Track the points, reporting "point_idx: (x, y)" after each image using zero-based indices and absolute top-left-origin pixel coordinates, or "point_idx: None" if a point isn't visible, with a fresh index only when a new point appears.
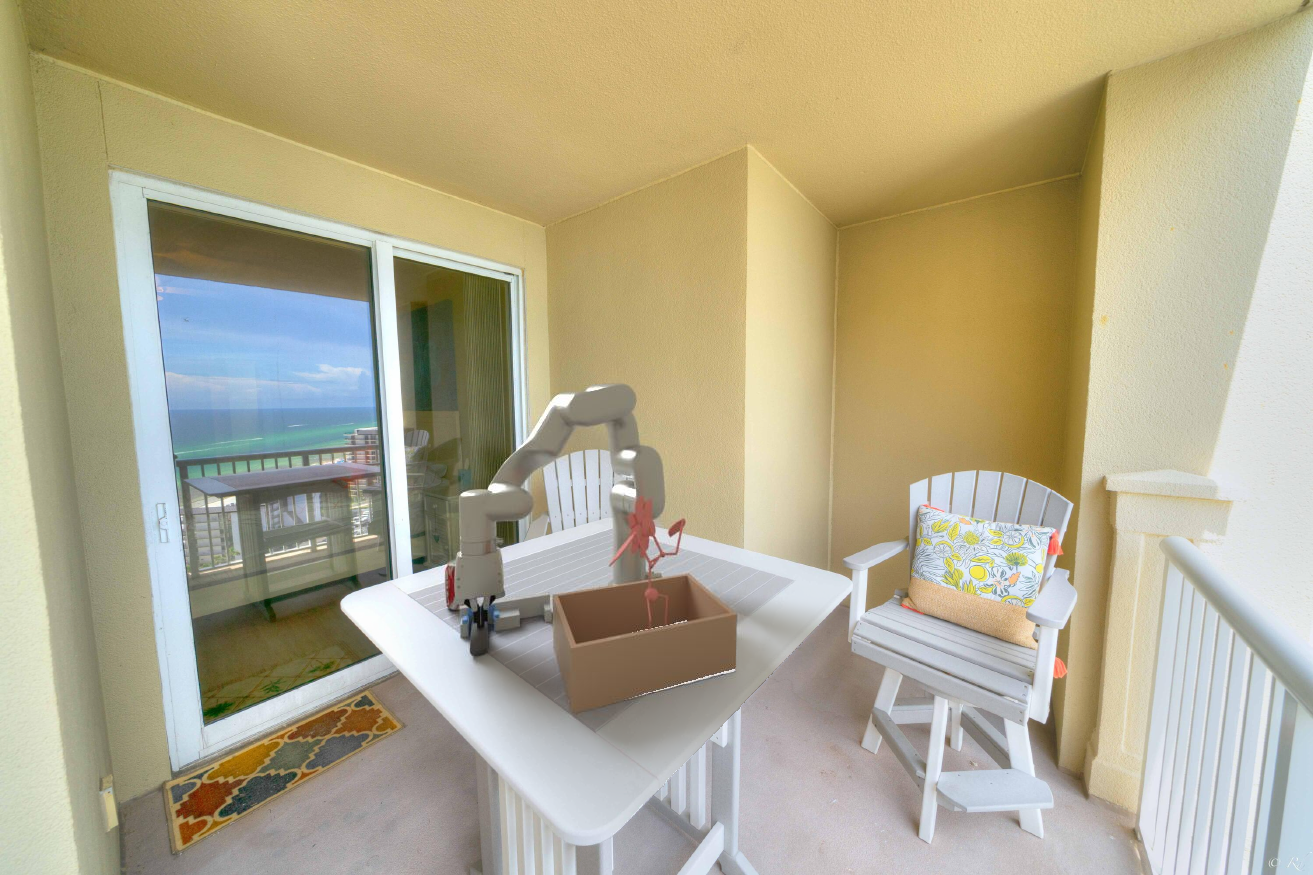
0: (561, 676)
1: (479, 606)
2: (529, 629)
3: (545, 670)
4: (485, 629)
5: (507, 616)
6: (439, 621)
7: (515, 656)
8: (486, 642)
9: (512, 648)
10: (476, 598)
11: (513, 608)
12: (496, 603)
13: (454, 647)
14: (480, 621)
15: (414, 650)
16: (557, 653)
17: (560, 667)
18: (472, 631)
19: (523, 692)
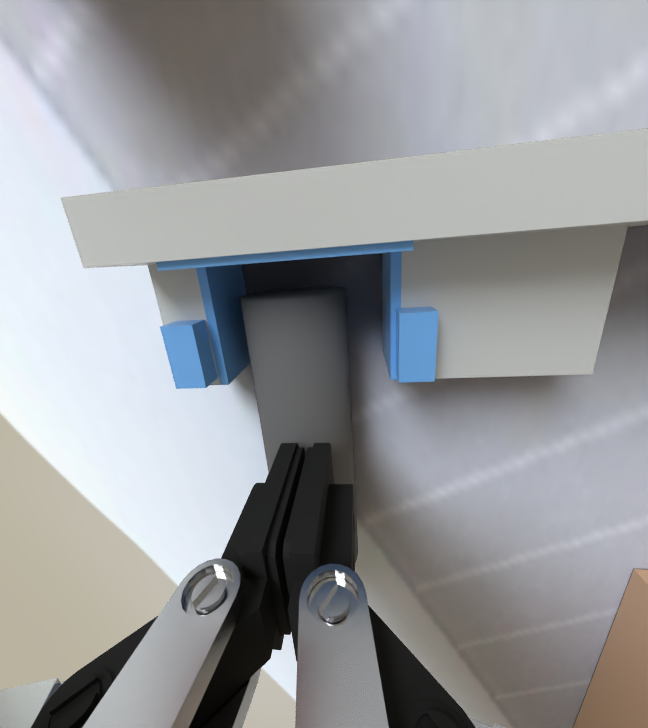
0: (585, 696)
1: (270, 558)
2: (581, 393)
3: (546, 659)
4: (340, 472)
5: (493, 373)
6: (25, 104)
7: (462, 568)
8: None
9: (458, 519)
10: (197, 699)
11: (575, 237)
12: (435, 238)
13: (213, 434)
14: (303, 454)
15: (55, 403)
16: (635, 694)
17: (604, 712)
18: (270, 466)
19: (457, 701)
